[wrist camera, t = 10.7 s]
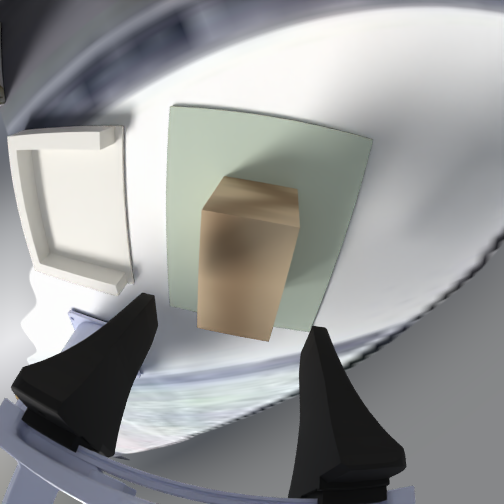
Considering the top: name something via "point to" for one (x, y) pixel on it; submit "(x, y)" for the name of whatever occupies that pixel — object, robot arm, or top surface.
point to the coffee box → (0, 89)
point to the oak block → (245, 256)
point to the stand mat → (267, 171)
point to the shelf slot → (74, 203)
